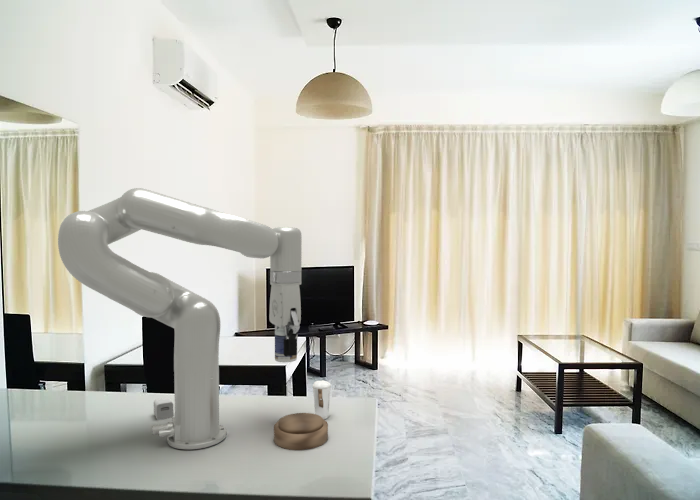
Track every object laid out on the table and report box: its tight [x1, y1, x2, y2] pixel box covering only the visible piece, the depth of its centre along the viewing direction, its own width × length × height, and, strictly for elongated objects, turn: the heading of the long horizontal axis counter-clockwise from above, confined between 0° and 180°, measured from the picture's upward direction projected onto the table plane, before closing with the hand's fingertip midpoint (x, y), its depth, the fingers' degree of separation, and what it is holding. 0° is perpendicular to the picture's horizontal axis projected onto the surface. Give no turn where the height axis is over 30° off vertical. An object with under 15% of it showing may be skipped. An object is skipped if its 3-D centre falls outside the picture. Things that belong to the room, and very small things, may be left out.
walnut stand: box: [273, 412, 329, 451], centre depth 108 cm, size 12×12×4 cm
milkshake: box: [312, 377, 335, 420], centre depth 121 cm, size 5×5×10 cm
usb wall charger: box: [153, 397, 174, 421], centre depth 124 cm, size 4×7×4 cm, turn 30°
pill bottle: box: [274, 323, 298, 363], centre depth 117 cm, size 5×5×10 cm
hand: (285, 352), depth 117 cm, fingers closed on pill bottle, 5 cm apart
